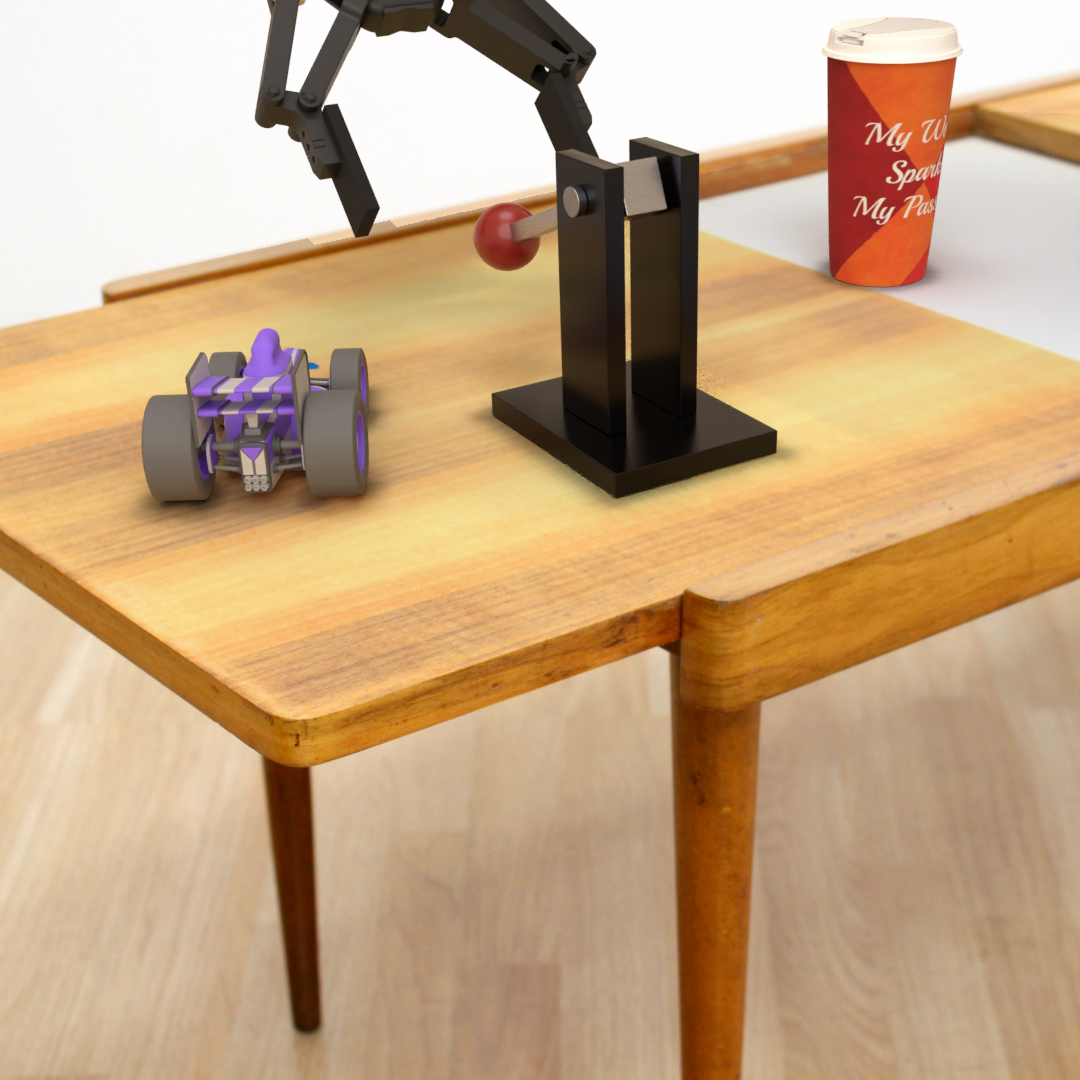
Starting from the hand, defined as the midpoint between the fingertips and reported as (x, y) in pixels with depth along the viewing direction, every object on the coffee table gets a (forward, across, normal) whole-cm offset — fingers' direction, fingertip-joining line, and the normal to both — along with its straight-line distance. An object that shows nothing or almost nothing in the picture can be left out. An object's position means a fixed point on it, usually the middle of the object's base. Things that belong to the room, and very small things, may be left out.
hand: (483, 203), depth 84 cm
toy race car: (+11, +15, -1) cm, 19 cm away
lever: (+7, 0, +6) cm, 9 cm away
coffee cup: (+7, -27, -5) cm, 28 cm away
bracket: (+16, 0, +4) cm, 17 cm away
